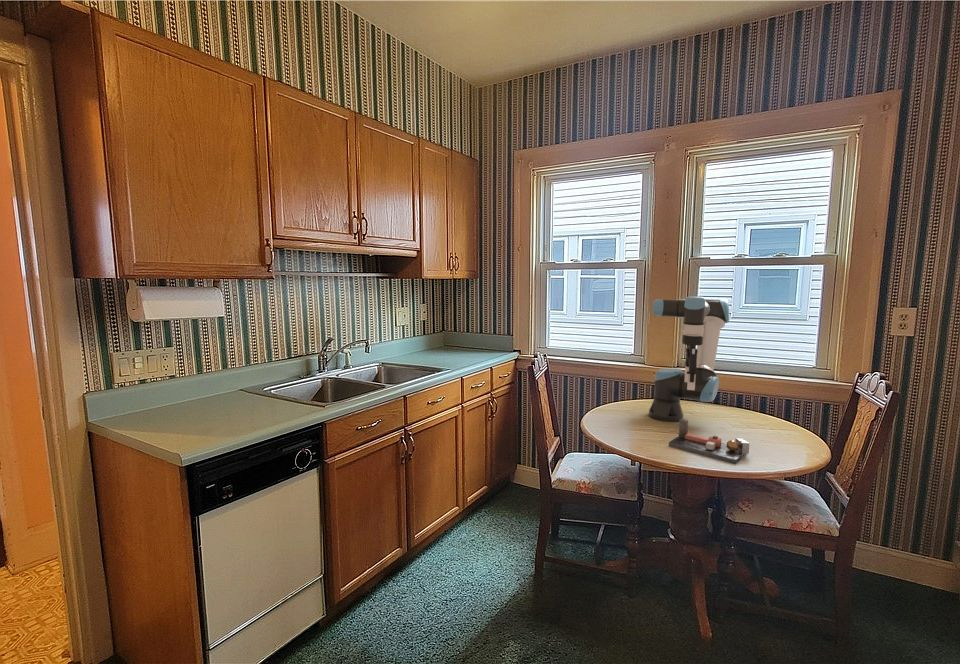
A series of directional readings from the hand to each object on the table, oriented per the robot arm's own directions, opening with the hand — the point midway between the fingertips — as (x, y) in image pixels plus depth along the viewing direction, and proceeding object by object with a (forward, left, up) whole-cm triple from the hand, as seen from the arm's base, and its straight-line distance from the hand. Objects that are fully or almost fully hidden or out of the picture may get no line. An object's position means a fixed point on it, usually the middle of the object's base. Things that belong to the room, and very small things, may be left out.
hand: (689, 385), depth 186 cm
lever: (+7, -8, -20) cm, 23 cm away
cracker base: (+11, -8, -22) cm, 26 cm away
